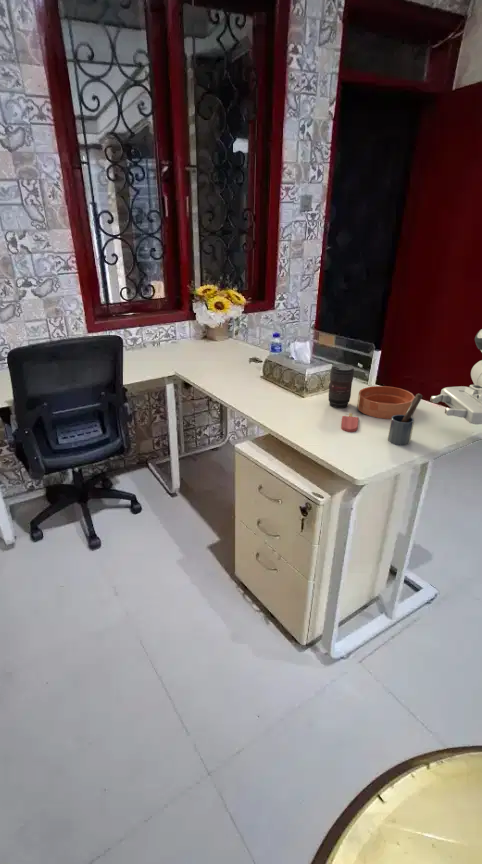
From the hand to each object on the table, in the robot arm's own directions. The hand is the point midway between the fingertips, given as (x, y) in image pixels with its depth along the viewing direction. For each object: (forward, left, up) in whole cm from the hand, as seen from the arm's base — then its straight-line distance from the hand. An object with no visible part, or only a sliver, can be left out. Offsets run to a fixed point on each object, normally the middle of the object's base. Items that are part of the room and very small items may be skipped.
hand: (438, 405), depth 122 cm
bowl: (0, -26, -12) cm, 29 cm away
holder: (+9, -2, -12) cm, 15 cm away
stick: (+11, -2, -11) cm, 16 cm away
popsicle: (+17, -18, -12) cm, 28 cm away
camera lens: (+13, -35, -12) cm, 39 cm away
